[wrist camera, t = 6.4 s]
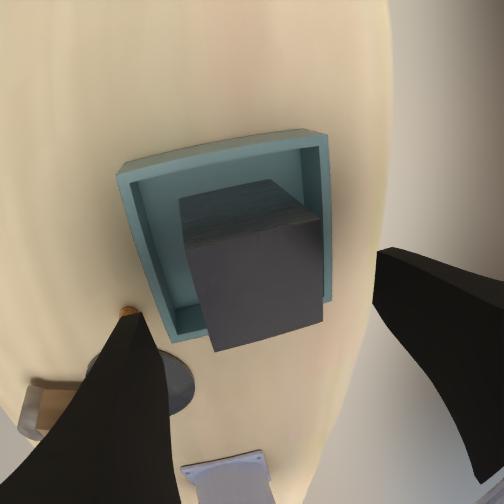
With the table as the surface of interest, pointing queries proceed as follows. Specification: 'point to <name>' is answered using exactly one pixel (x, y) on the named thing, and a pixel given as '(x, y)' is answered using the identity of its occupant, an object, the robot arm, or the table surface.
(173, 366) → the crank base
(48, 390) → the crank
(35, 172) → the table surface
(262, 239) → the block
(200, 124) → the table surface
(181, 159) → the tray
